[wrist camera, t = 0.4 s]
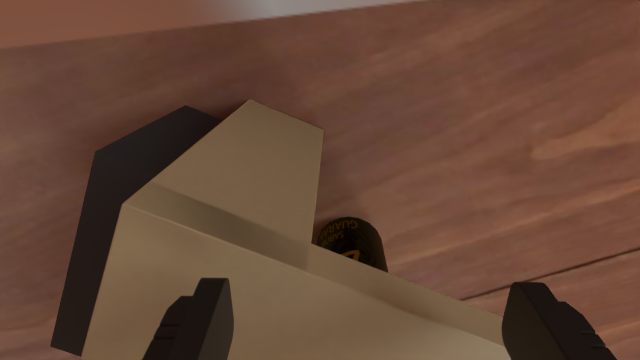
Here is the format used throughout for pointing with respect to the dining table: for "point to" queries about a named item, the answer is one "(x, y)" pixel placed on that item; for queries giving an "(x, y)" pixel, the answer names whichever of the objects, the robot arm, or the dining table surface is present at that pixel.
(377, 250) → the beer can
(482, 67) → the dining table surface
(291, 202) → the lidded cardboard box
